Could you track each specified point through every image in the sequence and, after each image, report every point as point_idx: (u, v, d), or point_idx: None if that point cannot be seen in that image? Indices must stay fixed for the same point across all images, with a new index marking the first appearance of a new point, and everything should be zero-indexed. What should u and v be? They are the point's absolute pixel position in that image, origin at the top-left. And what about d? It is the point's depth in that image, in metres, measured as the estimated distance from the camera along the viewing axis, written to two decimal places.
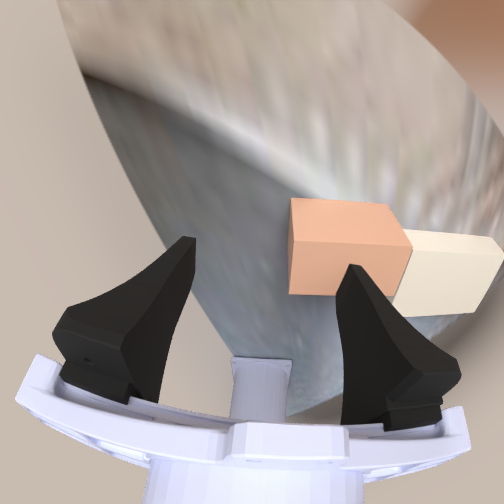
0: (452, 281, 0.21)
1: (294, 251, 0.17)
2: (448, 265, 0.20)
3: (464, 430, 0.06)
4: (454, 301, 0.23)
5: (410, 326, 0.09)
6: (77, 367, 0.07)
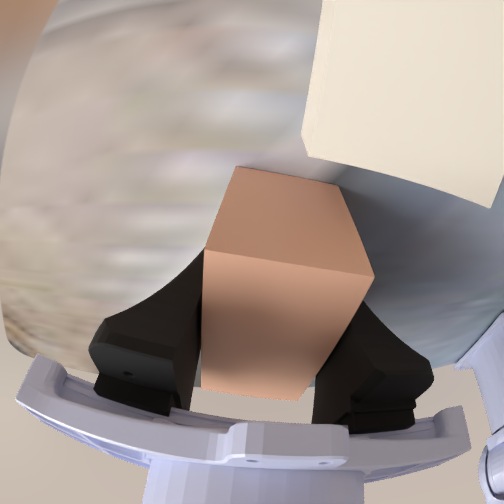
0: (437, 19, 0.05)
1: (218, 390, 0.12)
2: (380, 34, 0.06)
3: (464, 430, 0.06)
4: (500, 19, 0.04)
5: (381, 324, 0.09)
6: (113, 380, 0.07)
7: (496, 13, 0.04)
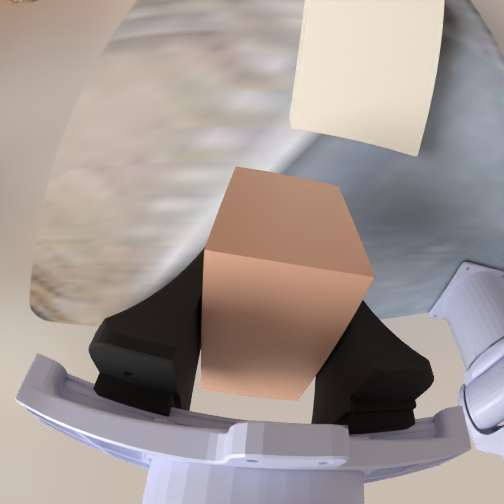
0: (364, 43, 0.11)
1: (218, 391, 0.12)
2: (328, 58, 0.12)
3: (464, 430, 0.06)
4: (413, 33, 0.10)
5: (381, 324, 0.09)
6: (113, 380, 0.07)
7: (410, 30, 0.10)
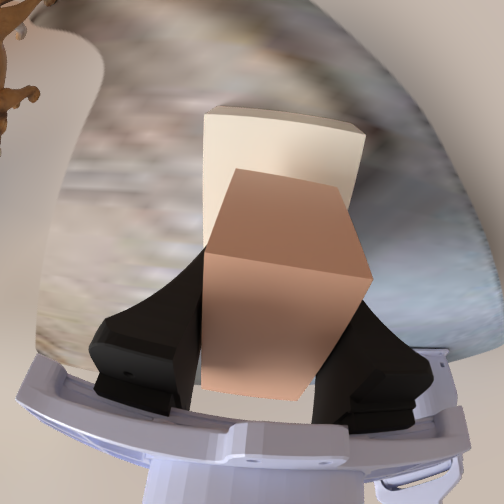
0: None
1: (218, 391, 0.12)
2: None
3: (464, 430, 0.06)
4: None
5: (381, 324, 0.09)
6: (113, 380, 0.07)
7: None
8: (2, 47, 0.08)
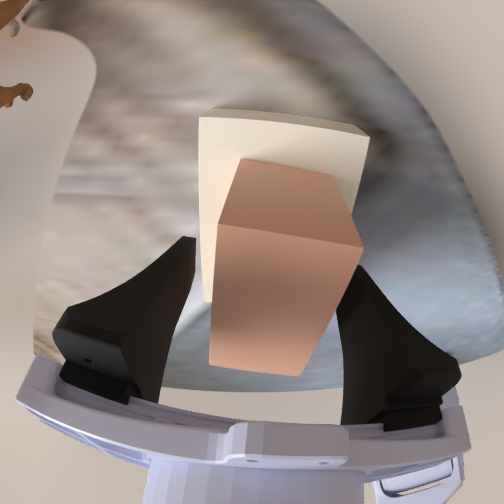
0: None
1: (225, 366, 0.13)
2: None
3: (464, 430, 0.06)
4: None
5: (410, 326, 0.09)
6: (77, 367, 0.07)
7: None
8: None
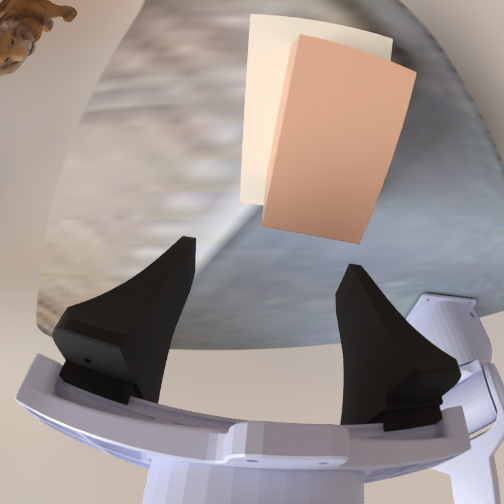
0: None
1: (280, 227, 0.12)
2: (267, 138, 0.16)
3: (464, 430, 0.06)
4: None
5: (410, 326, 0.09)
6: (77, 367, 0.07)
7: None
8: None
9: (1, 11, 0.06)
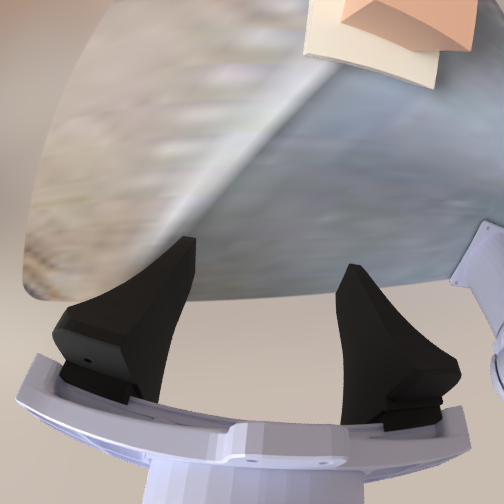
0: None
1: (395, 6, 0.06)
2: None
3: (464, 430, 0.06)
4: None
5: (410, 326, 0.09)
6: (77, 367, 0.07)
7: None
8: None
9: None
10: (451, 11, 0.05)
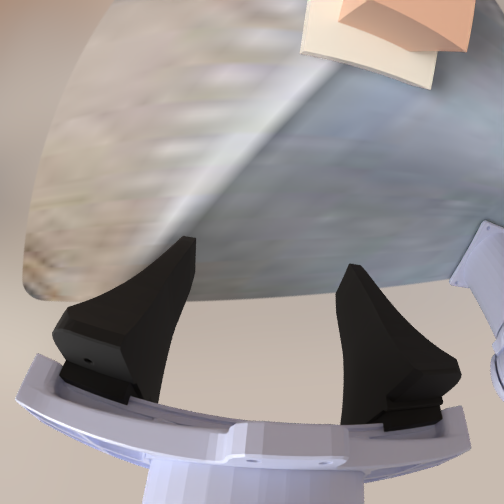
0: None
1: (390, 6, 0.06)
2: None
3: (464, 430, 0.06)
4: None
5: (410, 326, 0.09)
6: (77, 367, 0.07)
7: None
8: None
9: None
10: (447, 11, 0.05)
